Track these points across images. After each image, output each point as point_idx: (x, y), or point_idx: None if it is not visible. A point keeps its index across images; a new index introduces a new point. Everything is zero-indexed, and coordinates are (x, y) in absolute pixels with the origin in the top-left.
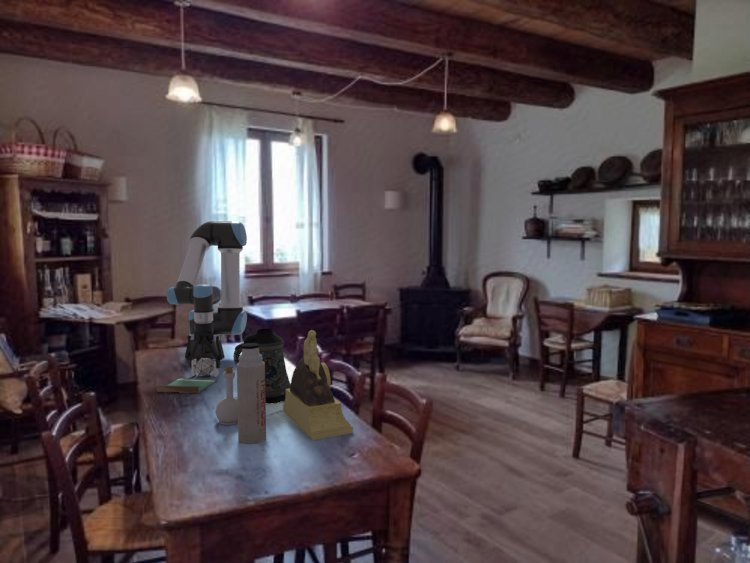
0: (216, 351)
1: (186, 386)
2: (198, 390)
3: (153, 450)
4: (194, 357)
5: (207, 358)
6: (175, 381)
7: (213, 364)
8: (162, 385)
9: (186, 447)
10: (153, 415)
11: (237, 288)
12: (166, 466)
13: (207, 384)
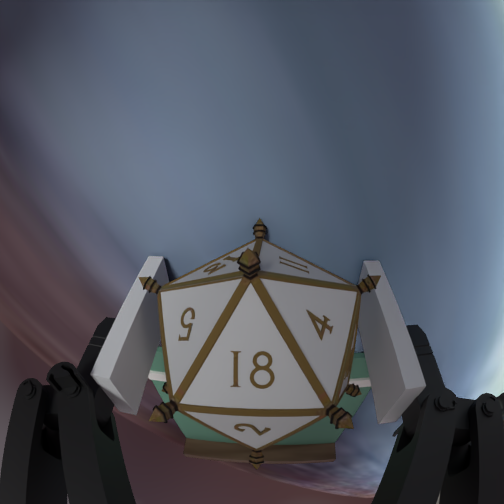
0: (426, 501)
1: (293, 462)
2: (334, 447)
3: (334, 493)
4: (88, 395)
5: (281, 421)
6: (162, 388)
7: (352, 335)
8: (202, 457)
9: (366, 488)
10: (285, 480)
11: None
12: (355, 494)
13: (348, 408)
